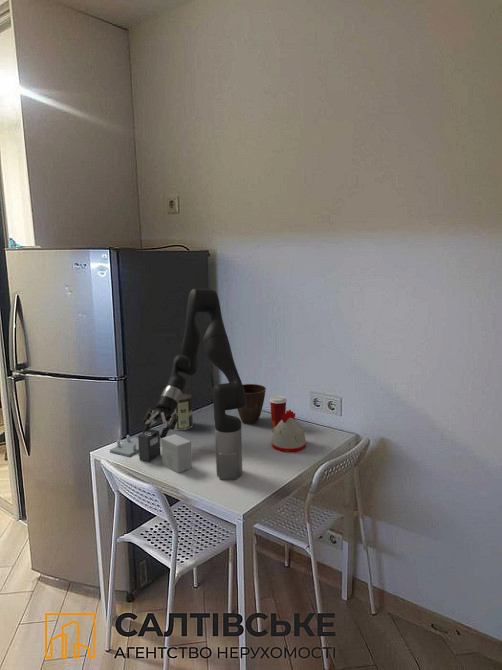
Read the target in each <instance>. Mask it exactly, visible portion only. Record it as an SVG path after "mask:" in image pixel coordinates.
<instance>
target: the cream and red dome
mask: <svg viewBox="0 0 502 670" xmlns="http://www.w3.org/2000/svg"><path fill="white" fill-rule="evenodd" d="M281 418H282V420H281V421H280V422H279V423H278V425H277V426H276V427H274V428H272V433H273V434H272V436H271V447H272V448H273V449H274V450H276V451H279V452H282V453H297V452H298V453H299V452H301V451H303V450H305V448H306V447H307V442H306V436H305V431H304V430H303V428H302V426H301V424H300V423H299V422H298V421H297V419H295V418H296V413H295V412H294V411H292V410H291V409H288V410H286V413H285V412H284V413H283V416H281Z"/></svg>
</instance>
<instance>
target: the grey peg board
mask: <svg viewBox="0 0 502 670" xmlns="http://www.w3.org/2000/svg"><path fill="white" fill-rule="evenodd" d="M116 443H117V445H116V446H114V447H113V448H111V449H109V452H110V453H111V454H116V455H120V456H124V457H127V458H128V457H129V458H130V457H132V456H133V455H135V454H137V453H139V443H138V437H132V438H131V437H130V435H129V434H127V435H126V441H124V442H121V440H120V439H117V440H116Z"/></svg>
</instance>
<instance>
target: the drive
mask: <svg viewBox="0 0 502 670" xmlns="http://www.w3.org/2000/svg"><path fill="white" fill-rule="evenodd" d="M160 434H161V433H160V431H159V430H155V429H151V428H150V429H149V430H148V431H146V432H144V433H143V432H141V433H140V434H139V435H137V438H138V443H139V452H138V456H139V461H142V462H145V463H151V462H152V461H154V460H156V459H157V458H159V457H161V455H162V454H161V453H162V451H161V438H160Z"/></svg>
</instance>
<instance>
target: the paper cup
mask: <svg viewBox="0 0 502 670" xmlns="http://www.w3.org/2000/svg"><path fill="white" fill-rule="evenodd" d="M287 402H288V400H287V397H286V396H284V395H274V396H271V397H270V399H269V403H270V404H269V405H270V415H271V417H270V418H271V427H272V429H273V428H274V427H276V426H277V425H278V423H279V422H280V421H281V420H282V418H281V416H283V413H284V412H285V413H286V411H287Z"/></svg>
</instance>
